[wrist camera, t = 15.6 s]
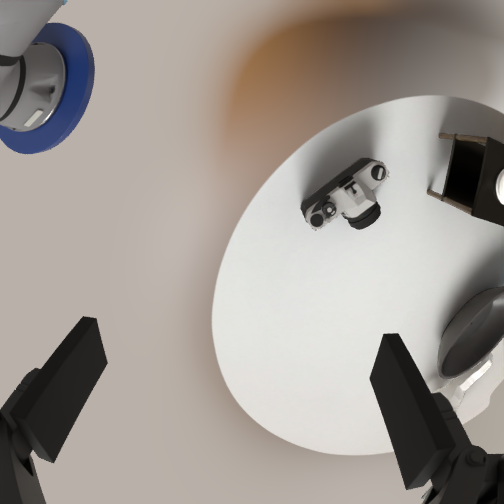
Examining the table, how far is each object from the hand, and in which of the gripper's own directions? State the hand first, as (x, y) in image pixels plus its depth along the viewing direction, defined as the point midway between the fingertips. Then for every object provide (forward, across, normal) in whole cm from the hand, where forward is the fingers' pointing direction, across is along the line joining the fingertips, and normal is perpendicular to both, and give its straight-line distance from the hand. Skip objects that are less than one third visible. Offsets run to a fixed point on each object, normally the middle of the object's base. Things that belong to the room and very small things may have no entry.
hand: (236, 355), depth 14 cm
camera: (+34, +13, +1) cm, 37 cm away
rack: (+34, +41, +6) cm, 54 cm away
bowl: (+34, +43, -20) cm, 58 cm away
